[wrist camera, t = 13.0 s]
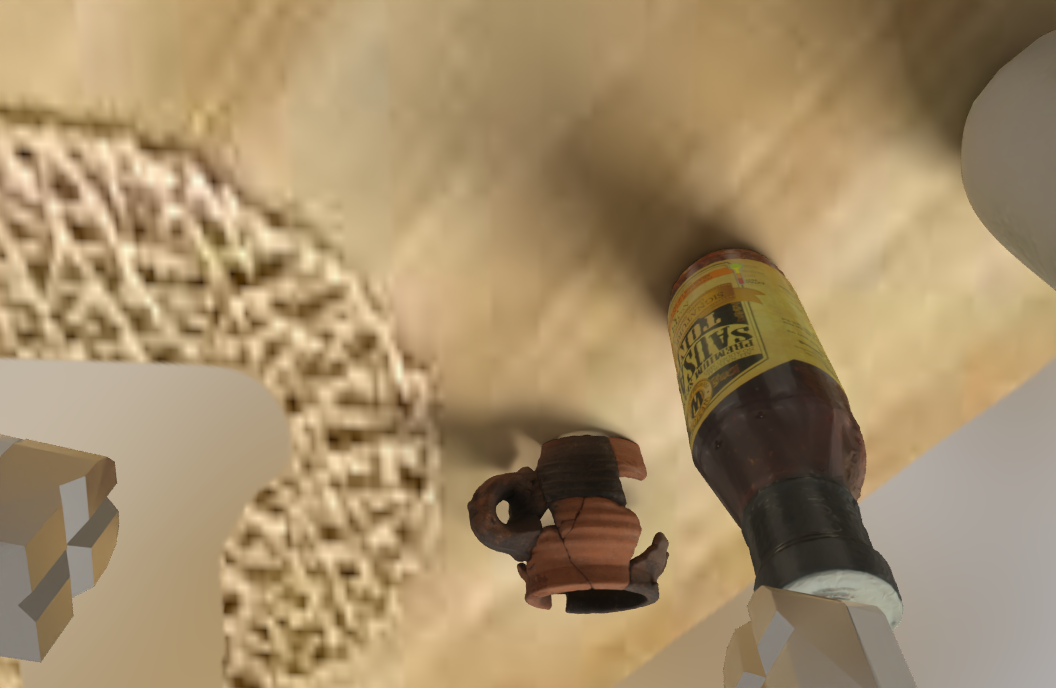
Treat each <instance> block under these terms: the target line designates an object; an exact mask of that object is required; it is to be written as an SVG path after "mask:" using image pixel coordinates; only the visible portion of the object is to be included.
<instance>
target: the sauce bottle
mask: <svg viewBox="0 0 1056 688" xmlns="http://www.w3.org/2000/svg"><path fill="white" fill-rule="evenodd" d="M667 323H668V330H669V335H670V341H671V346H672V351H673V357H674V362H675V367H676V372H677V379H678V384H679V391H680V394H681V399H682V403H683V409H684V415H685V420H686V426H687V432H688V437H689V444H690V448H691V453H692V458H693V462H694V464H695V467H696V468H697V469H698V471H699V472H700V473H701V475H702V476H703V478H704V479H705V480H706V482H707V483H708V485H709V486H710V487H711V489H712V490H713V491H714V493H715V494H716V496H717V497H718V498H719V500H720V501H721V502H722V504H723V505H724V507H725V508H726V509H727V511H728V512H729V513H730V515H731V516H732V518H733V519H734V520H735V522H736V523H737V524H738V526H739V527H740V528H741V529H742V534H743V537H744V539H745V541H746V544H747V546H748V547H749V550H750V555H751V559H752V563H753V566H754V571H755V575H756V579H755V585H754V592H755V591H756V590H757V589H758V588H759V587H760V586H762V585H764V586H769V587H775V588H780V589H785V590H791V591H796V592H801V593H807V594H812V595H817V596H823V597H828V598H833V599H835V600H837V599H841V600H847V601H852V602H858V603H863V604H869V605H874V606H877V607H878V608H879V609H880V610H881V611H882V612H883V613H884V614H885V616H886V618H887V620H888V622H889V625H890V627H891V629H892V631H894V630H895V628H896V627H897V626H898V625H899V623H900V621H901V618H902V614H903V604H902V599H901V596H900V594H899V590H898V587H897V584H896V582H895V580H894V577H893V575H892V572H891V569H890V567H889V565H888V563H887V561H886V560H885V559H884V558H883V557H882V555H880V553H879V552H878V551H876V550H874V549H873V547H872V544H871V542H870V539H869V536H868V533H867V531H866V529H865V527H864V525H863V523H862V519H861V514H860V509H859V506H858V503H857V500H858V498H859V497H860V496H861V495H860V492H861V487H862V485H863V482H864V477H865V473H866V450H865V445H864V440H863V436H862V434H861V431H860V427H859V425H858V424H857V422H856V420H855V419H854V417H853V415H852V412H851V411H850V405H849V401H848V398H847V396H846V394H845V391H844V389H843V387H842V385H841V383H840V381H839V379H838V377H837V375H836V373H835V371H834V369H833V367H832V365H831V363H830V361H829V359H828V357H827V355H826V353H825V351H824V349H823V347H822V345H821V343H820V341H819V339H818V337H817V335H816V333H815V331H814V329H813V327H812V325H811V323H810V321H809V318H808V316H807V314H806V312H805V310H804V308H803V306H802V304H801V302H800V300H799V298H798V295H797V294H796V292H795V290H794V288H793V287H792V285H791V284H790V282H789V281H788V280H787V279H786V277H785V275H784V274H783V272H782V271H780V270H779V269H778V268H777V266H775V265H774V264H773V263H772V262H771V261H769V260H768V259H767V258H766V257H764V256H763V255H760V254H758V253H756V252H754V251H750V250H746V249H733V248H730V249H724V250H719V251H715V252H711V253H709V254H707V255H705V256H704V257H702V258H700V259H699V260H697V261H696V262H694V263H693V264H692V265H690V266H689V267H688V268H687V269H686V270H685V271H684V272H683V273H682V274H681V275H680V277H679V279H678V281H677V282H676V283H675V284H674V285H673V290H672V293H671V298H670V305H669V310H668V319H667Z"/></svg>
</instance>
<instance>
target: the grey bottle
mask: <svg viewBox="0 0 1056 688" xmlns="http://www.w3.org/2000/svg"><path fill="white" fill-rule="evenodd" d="M961 173H962V180H963V184H964V188H965V191H966V194H967V197H968V199H969V202H970V204H971V206H972V208H973V210H974V211H975V213H976V215H977V216H978V217H979V219H980V220H981V222H982V223H983V224H984V226H985V227H986V228H987V229H988V231H989V232H990V233H991V234H992V235H993V236H994V237H995V238H996V239H997V240H998V241H999V242H1000V243H1001V244H1002V245H1003V246H1004V247H1005V248H1006V249H1007V250H1008V251H1009V252H1010V253H1011V254H1013V255H1014V256H1015V257H1016V258H1017V259H1018V260H1019V261H1021V262H1022V263H1023V264H1024V265H1025V266H1027V267H1028V268H1029V269H1030V270H1031V271H1032V272H1034V273H1035V274H1036V275H1037V276H1039V277H1040V278H1041V279H1042V280H1044V281H1045V282H1046V283H1047V284H1048V285H1050V286H1051V287H1052V288H1053V289H1054V290H1056V30H1054V31H1051V32H1049V33H1047V34H1045V35H1043V36H1041V37H1039V38H1038V39H1036V40H1035V41H1034V42H1033V43H1032V44H1030V45H1029V46H1028V47H1027V48H1025V49H1024V50H1023V51H1022V52H1020V53H1019V54H1018V55H1017V56H1016V57H1014V58H1013V59H1012V60H1010V61H1009V62H1008V63H1007V64H1005V65H1004V66H1003V67H1002V68H1000V69H999V70H998V72H997V73H996V74H995V75H994V77H993V78H992V79H991V80H990V82H989V83H988V84H987V86H986V87H985V88H984V89H983V91H982V92H981V93H980V94H979V96H978V97H977V98H976V99H975V101H974V102H973V104H972V107H971V109H970V111H969V114H968V116H967V119H966V123H965V127H964V131H963V139H962V149H961Z"/></svg>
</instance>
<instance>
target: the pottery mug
mask: <svg viewBox="0 0 1056 688" xmlns="http://www.w3.org/2000/svg"><path fill="white" fill-rule="evenodd" d="M646 476H647V472H646V467H645V465H644V462H643V458H642V455H641V452H640V448H639V446H638V445H637V444H635V443H633V442H631V441H628V440H624V439H621V438H613V437H605V436H591V435H583V436H570V437H563V438H560V439H556V440H553V441H550V442H547V443H545V444H543V446H542V450H541V456H540V459H539V460H538V466H537V468H536V470H535V471H533V470H532V469H531V468H529V467H523V468H521V469H520V470H519V471H518V472H514V473H505V474H501V475H496V476H493V477H491V478H489V479H488V480H487V481H485V482H484V483H483V484H482V485H481V486H480V487H479V488H478V489H477V490H476V491H475V493H474V495H473V498H472V500H471V501H470V502H469V503H468V505H467V507H468V511H469V518H470V525H471V529H472V531H473V532H474V534H475V536H476V537H477V538H478V540H479V541H480V542H481V543H482V544H484V545H485V546H487V547H488V548H490V549H493V550H495V551H498V552H503V553H507V554H509V555H511V556H512V557H513V558H514V559H515V560H516V561H518V562H523V561H526V562H527V565H526V564H524V563H519V564H518V565H517V569H518V572H519V575H520V576H521V578H522V579H523V580H524V581H525V582H526V594H525V601H526V602H527V603H528V604H530V605H532V606H534V607H537V608H541V609H548V610H549V609H550V608H551V606H552V602H551V595H552V594H566V597H567V602H566V612H567V613H575V614H590V613H610V612H618V611H625V610H631V609H636V608H639V607H643V606H647V605H650V604H652V603H655V602H656V601H657V600H658V599H659V592H658V590H659V589H658V583H657V579H658V577H659V576H660V575H661V574H662V573H663V571H664V569H665V567H666V564H667V559H668V557H669V553H668V552H666V551H667V548H668V545H669V543H668V540H667V539H666V537H665V536H664V534H663V533H661V532H658V533H657V534H656V535H655V536H654V539H653V542H652V545H651V546H649V547H648V548H647V549H646V550H645V551H644V552H643V553H642V554H640V555H639V556H637V557H635V558H633V559H631V557H632V556H633V554H634V550H635V547H636V546H637V543H638V540H639V537H640V534H641V526H640V522H639V519H638V517H637V515H636V514H635V513H634V512H632V511H631V510H630V509H627V508H626V507H625V505H626V499H625V495H624V492H623V490H622V485H621V482H620V480H619V477H628V478H634V479H638V480H643V479H645V478H646ZM502 500H505V501H507V502H508V503H509V511H508V512H509V520H508V522H507V524H504V523H502V522H501V521H500V520H499V518H498V517H497V514H496V506H497V505H498V503H499V502H501V501H502ZM548 508H549V510H550V511H551V513H552V516H553V519H554V523H555V524H556V525H550V526H546V527H544V528H542V524H541V521H540V519H541V518H542V516H543V515H544V513H545V512H546V510H547V509H548ZM630 559H631V560H630Z"/></svg>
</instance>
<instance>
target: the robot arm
mask: <svg viewBox="0 0 1056 688" xmlns="http://www.w3.org/2000/svg"><path fill="white" fill-rule="evenodd" d="M116 484H117V479H116V469H115V462H114V461H113V460H111V459H110V458H108V457H105V456H101V455H96V454H92V453H87V452H83V451H78V450H73V449H69V448H65V447H60V446H56V445H51V444H47V443H42V442H37V441H32V440H28V439H25V440H23V439H19V438H14V437H10V436H5V435H1V434H0V656H2V657H8V658H15V659H21V660H28V661H35V662H42V660H43V659H44V657H45V656H46V655H47V653H48V652H49V650H50V649H51V647H52V646H53V644H54V643H55V642H56V640H57V639H58V637H59V636H60V634H61V633H62V632H63V630H64V629H65V628H66V626H67V625H68V623H69V622H70V620H71V619H72V618H73V616H74V615H73V604H72V598H73V597H75V596H77V595H79V594H81V593H83V592H85V591H87V590H88V589H90V588H92V587H94V586H95V584H96V583H97V581H98V580H99V578H100V577H101V575H102V574H103V572H104V571H105V569H106V568H107V566H108V563H109V561H110V558H111V556H112V553H113V551H114V548H115V546H116V542H117V535H118V529H119V512H118V510H117V509H116V507H115V506H114V505H113V504H112V502H111V501H110V500H109V499H108V498H107V495H108V494H109V493H110V491H111V490H112V489H113V487H114V486H115V485H116ZM747 607H748V612H749V616H750V620H751V621H749V622H748V623H746V624H744V625H742V626H741V627H739V628H737V629H735V631H734V633H733V635H732V638H731V640H730V642H729V645H728V647H727V650H726V656H725V662H724V668H723V670H724V671H723V672H724V673H723V674H724V688H917V685H916V683H915V681H914V679H913V676H912V674H911V672H910V670H909V667H908V665H907V663H906V661H905V659H904V656H903V654H902V652H901V649H900V647H899V645H898V643H897V640H896V638H895V636H894V634H893V631H892V629H891V627H890V625H889V622H888V620H887V618H886V616H885V614H884V613H883V612H882V611H881V610H880V609H879V608H878V607H877V606H874V605H869V604H863V603H858V602H852V601H847V600H841V599H837V600H835V599H833V598H828V597H823V596H817V595H812V594H807V593H801V592H796V591H791V590H785V589H780V588H775V587H769V586H764V585H762V586H760V587H759V588H758V589H757V590H756V591H755V592H754V593H753V595H752V597H751V599H750V601H749V603H748V605H747Z"/></svg>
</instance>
